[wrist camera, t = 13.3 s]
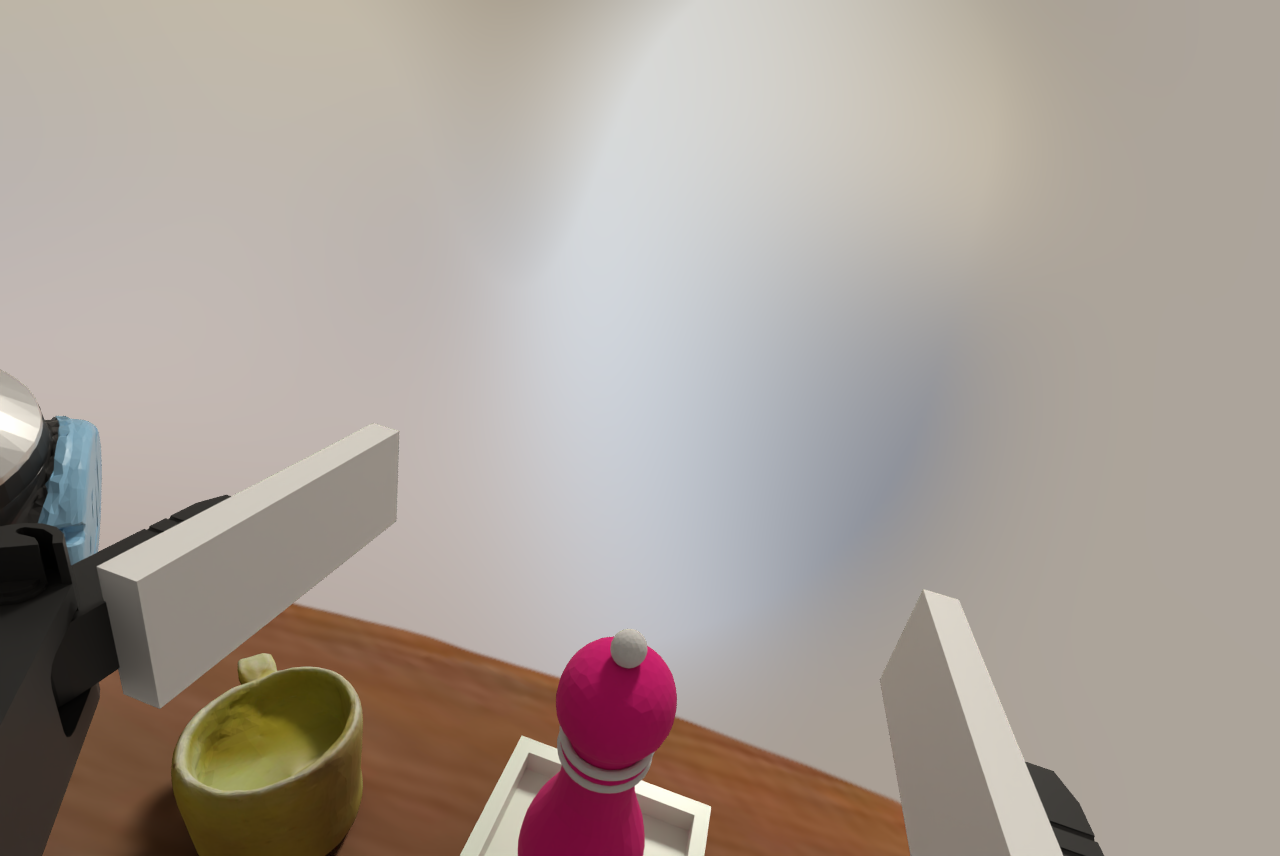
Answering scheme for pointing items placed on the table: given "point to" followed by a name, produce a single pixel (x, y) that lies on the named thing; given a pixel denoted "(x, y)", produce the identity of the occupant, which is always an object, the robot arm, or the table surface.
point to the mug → (272, 764)
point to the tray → (494, 839)
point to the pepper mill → (602, 750)
